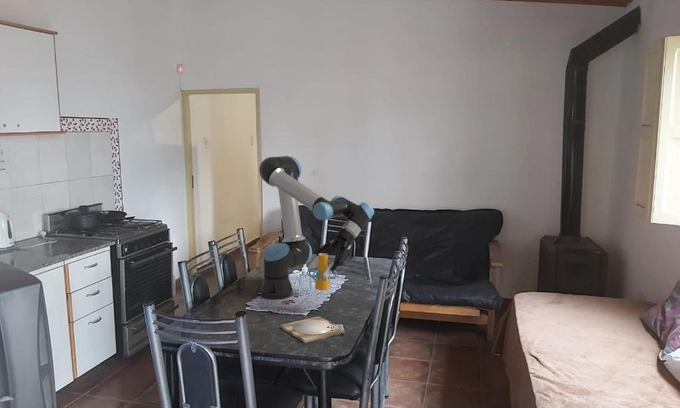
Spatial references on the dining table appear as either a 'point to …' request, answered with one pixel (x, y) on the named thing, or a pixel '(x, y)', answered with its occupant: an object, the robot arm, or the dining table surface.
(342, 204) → the robot arm
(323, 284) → the orange post with rings
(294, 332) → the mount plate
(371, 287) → the dining table surface
